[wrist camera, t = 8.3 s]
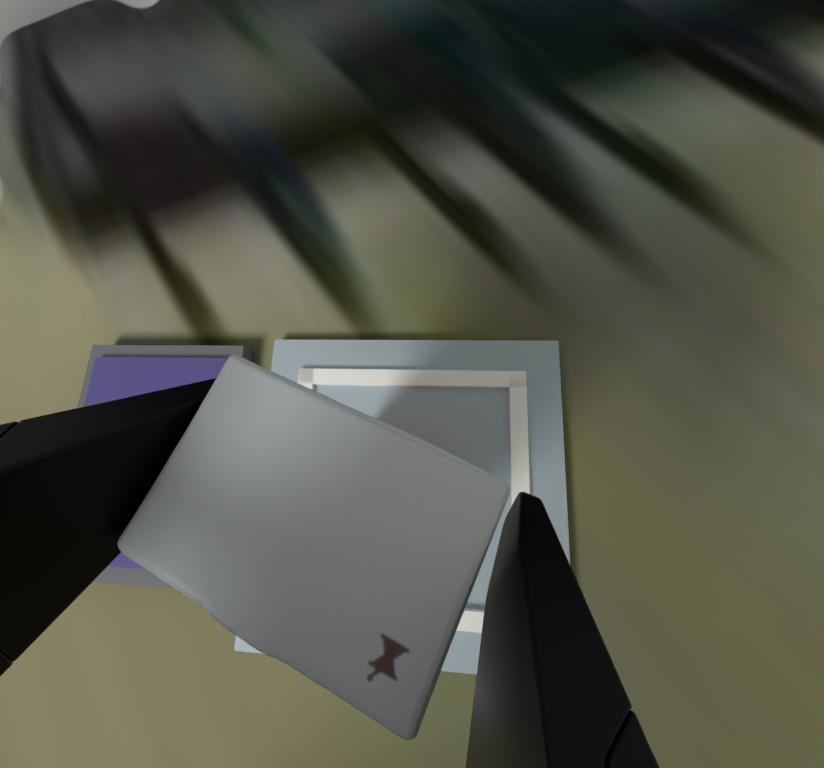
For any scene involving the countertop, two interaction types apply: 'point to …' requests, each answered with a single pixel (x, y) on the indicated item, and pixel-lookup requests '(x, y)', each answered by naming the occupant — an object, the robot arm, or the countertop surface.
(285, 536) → the skincare box
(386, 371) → the board
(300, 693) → the countertop surface
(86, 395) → the ink pad
